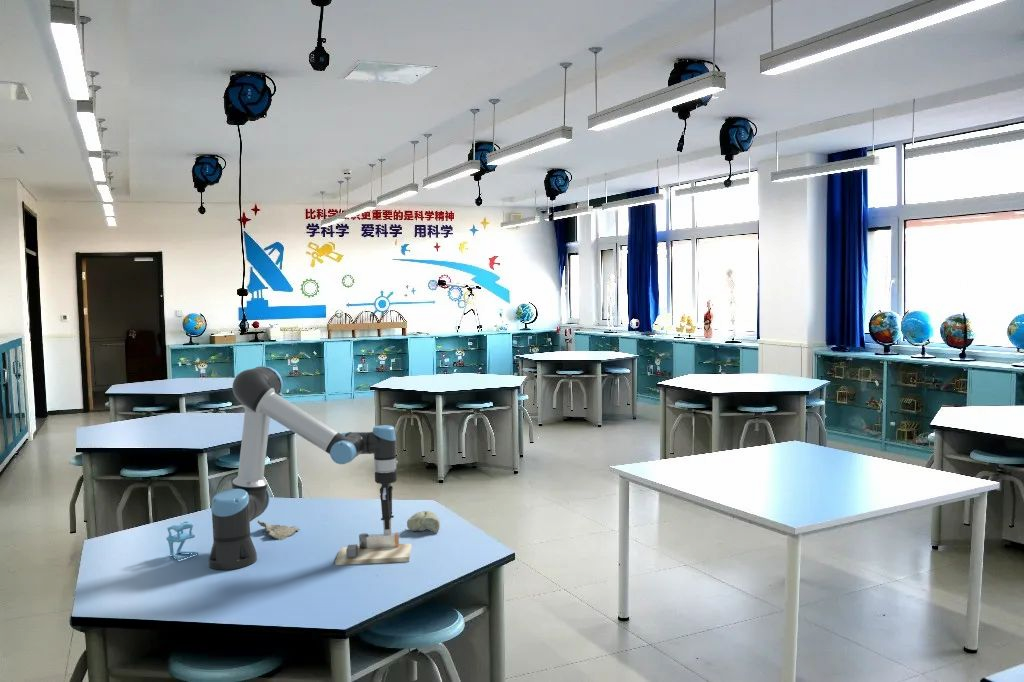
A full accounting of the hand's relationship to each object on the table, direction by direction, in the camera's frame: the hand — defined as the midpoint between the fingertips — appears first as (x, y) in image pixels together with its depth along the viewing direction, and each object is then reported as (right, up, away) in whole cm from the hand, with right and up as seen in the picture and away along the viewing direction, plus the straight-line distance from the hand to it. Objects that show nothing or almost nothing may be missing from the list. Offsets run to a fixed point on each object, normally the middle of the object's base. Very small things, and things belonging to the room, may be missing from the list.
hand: (388, 537), depth 266 cm
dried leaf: (-45, -5, +22) cm, 50 cm away
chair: (-71, -6, -2) cm, 71 cm away
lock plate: (-3, -4, -7) cm, 9 cm away
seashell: (+10, -3, +20) cm, 22 cm away
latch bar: (-3, -3, -2) cm, 4 cm away
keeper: (-10, -3, -11) cm, 15 cm away
